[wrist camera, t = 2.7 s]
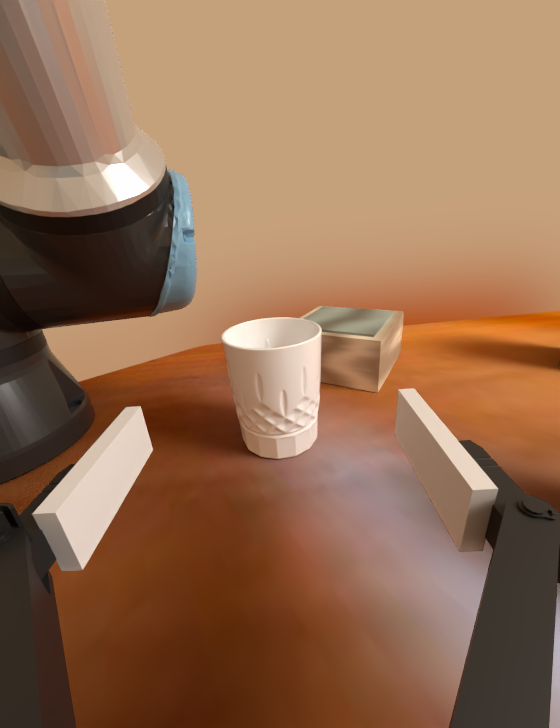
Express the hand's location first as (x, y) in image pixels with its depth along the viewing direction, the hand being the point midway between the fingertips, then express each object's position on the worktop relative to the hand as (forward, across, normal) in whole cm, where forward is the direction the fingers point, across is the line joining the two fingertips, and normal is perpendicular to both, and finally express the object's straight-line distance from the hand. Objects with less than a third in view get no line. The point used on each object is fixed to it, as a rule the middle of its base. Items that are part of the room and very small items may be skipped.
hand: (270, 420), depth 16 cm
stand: (+25, +8, -8) cm, 28 cm away
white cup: (+10, 0, -8) cm, 13 cm away
